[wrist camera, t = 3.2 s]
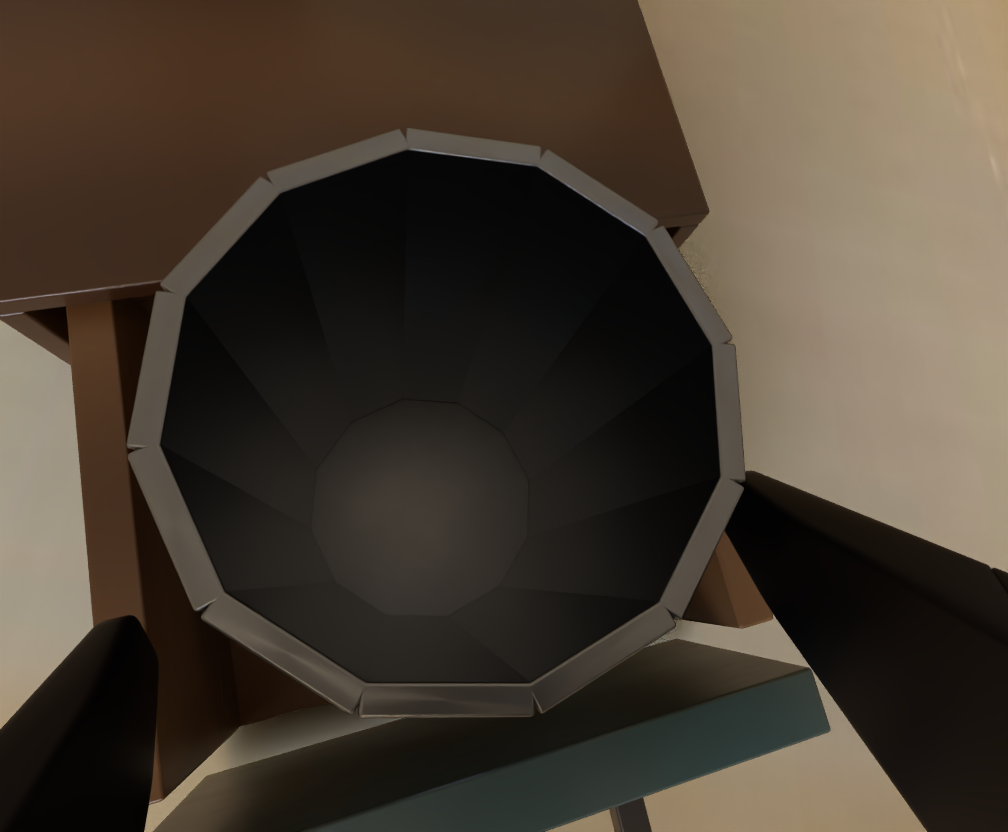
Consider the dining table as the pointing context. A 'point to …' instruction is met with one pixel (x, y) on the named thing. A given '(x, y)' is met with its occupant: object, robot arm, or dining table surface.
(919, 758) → the robot arm
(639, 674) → the drawer
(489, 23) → the cabinet
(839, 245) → the dining table surface
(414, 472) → the tapered cup
